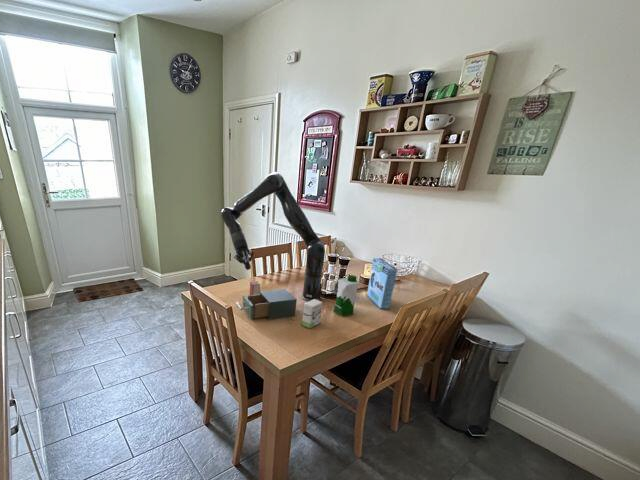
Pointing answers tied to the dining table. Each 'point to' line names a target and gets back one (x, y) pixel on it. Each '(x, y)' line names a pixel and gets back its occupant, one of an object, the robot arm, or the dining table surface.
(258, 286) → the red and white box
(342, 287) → the milk carton
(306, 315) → the ink box
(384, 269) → the light blue box
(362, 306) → the dining table surface
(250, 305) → the drawer
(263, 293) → the cabinet
